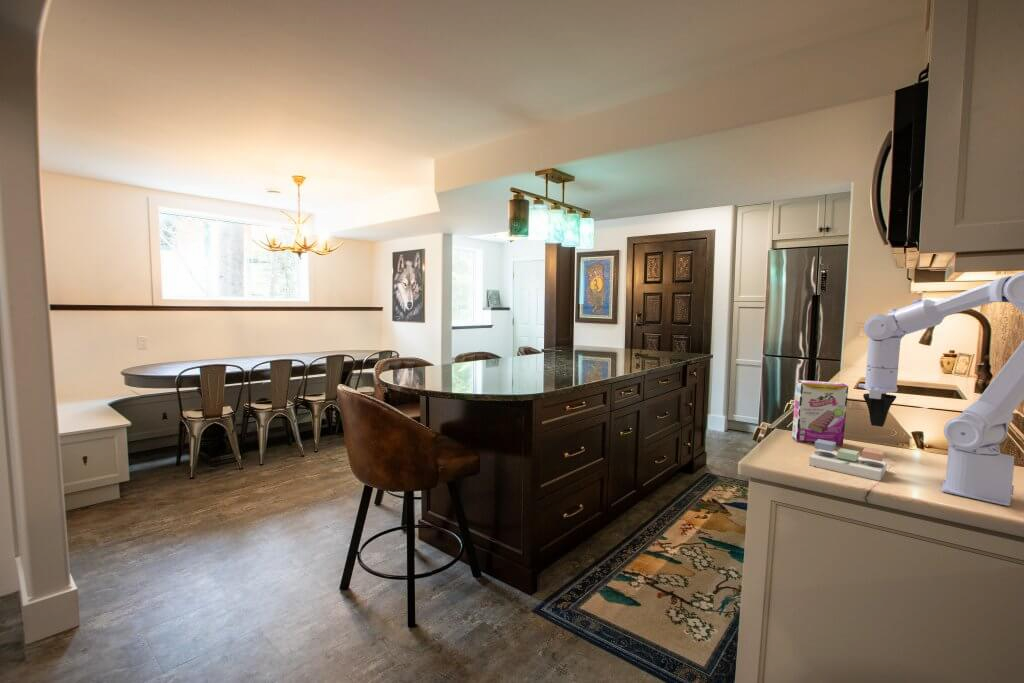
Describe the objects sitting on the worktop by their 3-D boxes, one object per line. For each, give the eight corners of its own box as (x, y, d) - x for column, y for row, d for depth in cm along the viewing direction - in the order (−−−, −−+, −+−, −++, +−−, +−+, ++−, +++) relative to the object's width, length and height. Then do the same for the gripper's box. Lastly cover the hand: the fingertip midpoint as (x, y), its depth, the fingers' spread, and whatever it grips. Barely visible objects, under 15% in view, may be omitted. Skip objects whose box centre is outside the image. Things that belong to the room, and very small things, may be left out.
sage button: (858, 458, 107) (859, 451, 107) (855, 461, 104) (856, 454, 104) (840, 454, 109) (840, 448, 109) (836, 457, 107) (837, 451, 107)
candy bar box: (796, 442, 127) (800, 382, 125) (791, 437, 131) (795, 379, 130) (844, 446, 124) (849, 385, 122) (837, 441, 128) (841, 382, 127)
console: (886, 470, 106) (886, 461, 105) (879, 480, 99) (880, 470, 99) (818, 456, 115) (819, 447, 115) (809, 465, 108) (809, 455, 108)
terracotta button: (884, 457, 104) (884, 451, 103) (881, 461, 101) (882, 454, 101) (864, 454, 106) (865, 447, 106) (861, 457, 104) (862, 450, 103)
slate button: (835, 448, 110) (835, 442, 110) (832, 451, 107) (832, 445, 107) (818, 445, 112) (818, 439, 112) (814, 448, 110) (814, 441, 110)
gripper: (866, 362, 115) (861, 417, 116) (854, 368, 105) (849, 427, 106) (903, 366, 110) (898, 422, 111) (894, 371, 100) (889, 434, 101)
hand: (877, 425), depth 108 cm, fingers closed
